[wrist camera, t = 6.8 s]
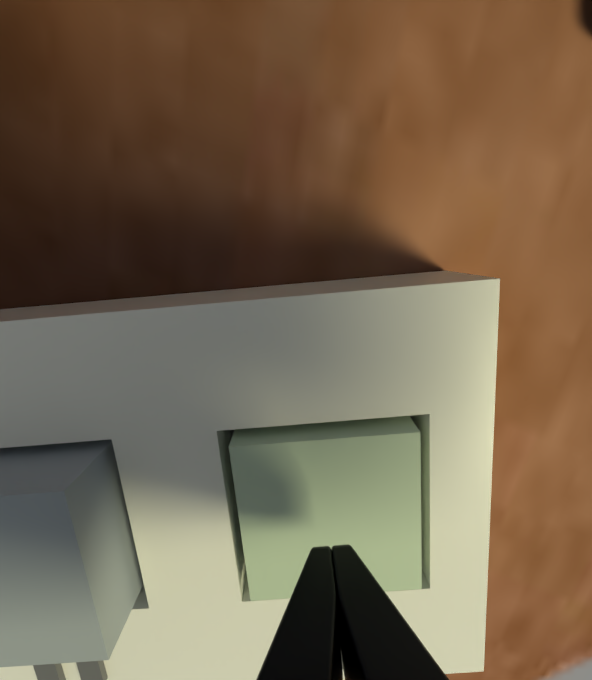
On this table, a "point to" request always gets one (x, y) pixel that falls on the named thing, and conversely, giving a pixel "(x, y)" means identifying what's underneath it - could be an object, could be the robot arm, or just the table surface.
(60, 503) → the slate tile
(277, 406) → the button board
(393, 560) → the sage tile
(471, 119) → the table surface
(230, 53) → the table surface
